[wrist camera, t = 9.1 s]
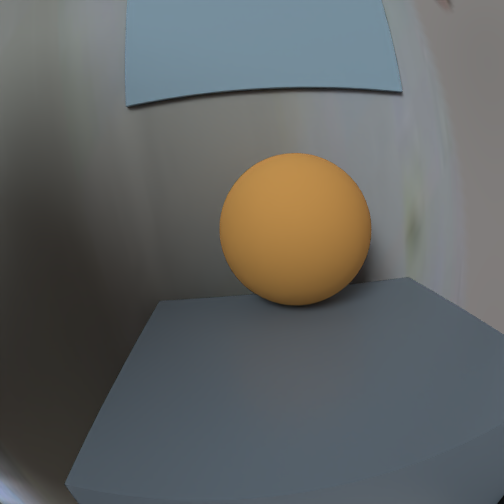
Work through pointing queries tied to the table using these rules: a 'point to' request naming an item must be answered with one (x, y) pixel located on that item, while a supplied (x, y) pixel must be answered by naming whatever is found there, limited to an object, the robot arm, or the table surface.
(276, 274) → the ball
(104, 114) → the table surface
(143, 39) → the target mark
